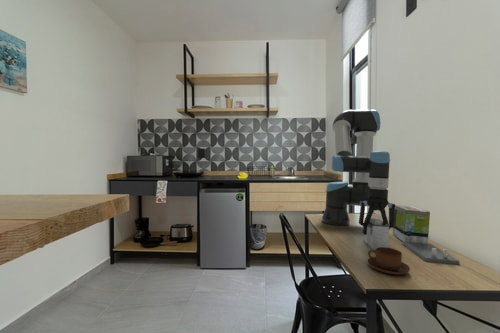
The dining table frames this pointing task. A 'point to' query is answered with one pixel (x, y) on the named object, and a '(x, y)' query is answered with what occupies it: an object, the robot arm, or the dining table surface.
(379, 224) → the block
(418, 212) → the tea box
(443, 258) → the pin tray
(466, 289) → the dining table surface
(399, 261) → the cup and saucer
